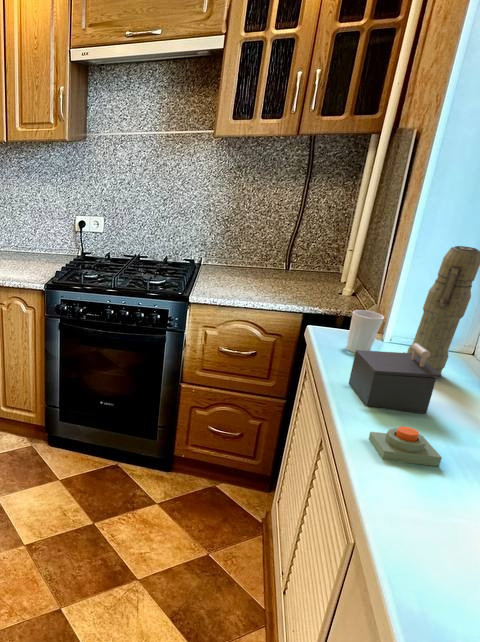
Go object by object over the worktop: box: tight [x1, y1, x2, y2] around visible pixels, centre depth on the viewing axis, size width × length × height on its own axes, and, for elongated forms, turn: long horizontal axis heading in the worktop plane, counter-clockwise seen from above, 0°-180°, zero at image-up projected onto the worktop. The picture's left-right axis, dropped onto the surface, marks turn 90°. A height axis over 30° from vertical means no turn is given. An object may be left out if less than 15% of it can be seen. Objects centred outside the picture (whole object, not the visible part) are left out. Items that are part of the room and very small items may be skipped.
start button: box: [396, 426, 420, 442], centre depth 109 cm, size 4×4×2 cm
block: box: [368, 427, 443, 467], centre depth 110 cm, size 10×8×4 cm
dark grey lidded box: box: [348, 352, 437, 415], centre depth 132 cm, size 13×14×9 cm
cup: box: [345, 309, 385, 353], centre depth 161 cm, size 8×8×12 cm
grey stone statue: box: [406, 245, 480, 375], centre depth 142 cm, size 9×12×35 cm
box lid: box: [354, 343, 442, 379], centre depth 129 cm, size 13×14×5 cm
